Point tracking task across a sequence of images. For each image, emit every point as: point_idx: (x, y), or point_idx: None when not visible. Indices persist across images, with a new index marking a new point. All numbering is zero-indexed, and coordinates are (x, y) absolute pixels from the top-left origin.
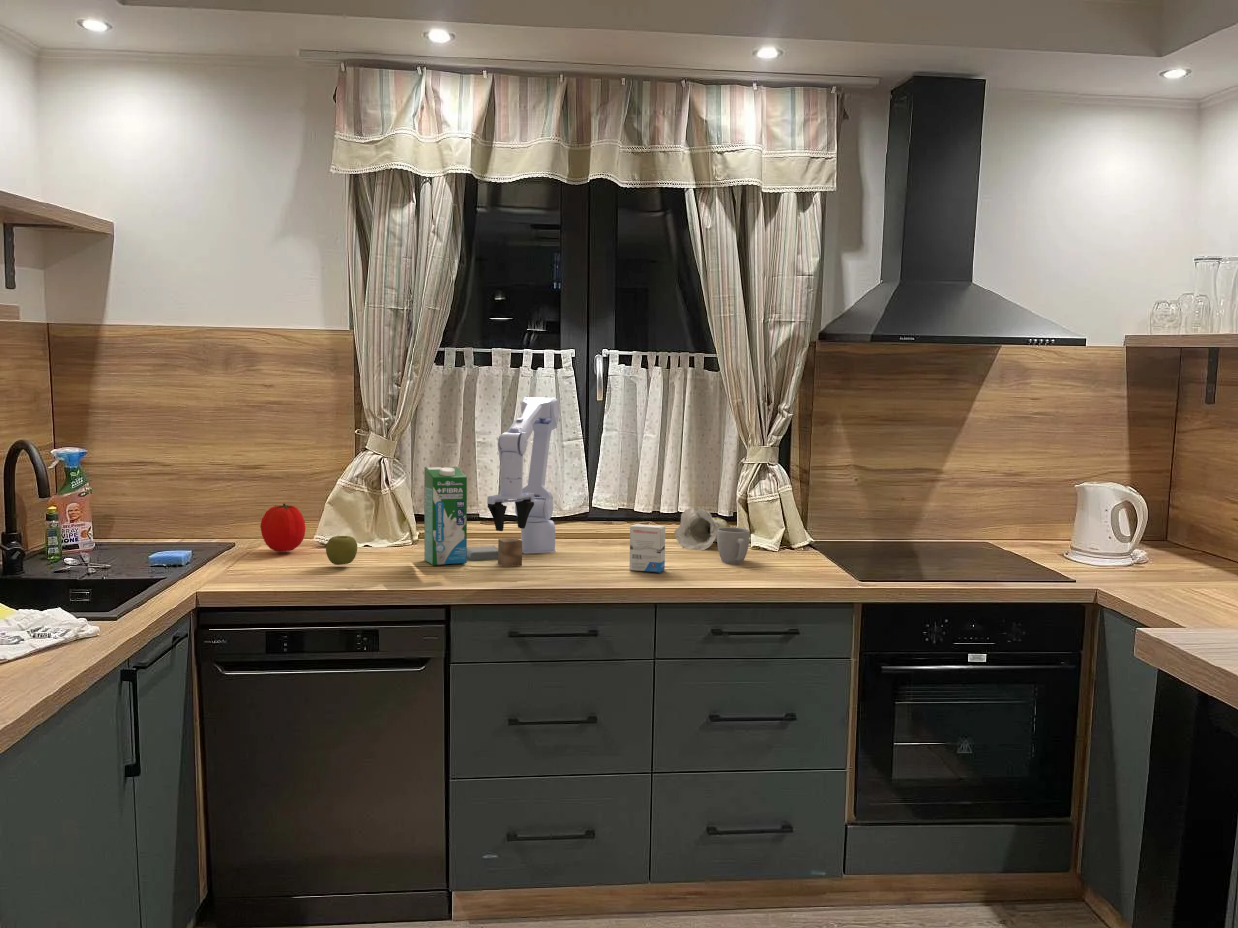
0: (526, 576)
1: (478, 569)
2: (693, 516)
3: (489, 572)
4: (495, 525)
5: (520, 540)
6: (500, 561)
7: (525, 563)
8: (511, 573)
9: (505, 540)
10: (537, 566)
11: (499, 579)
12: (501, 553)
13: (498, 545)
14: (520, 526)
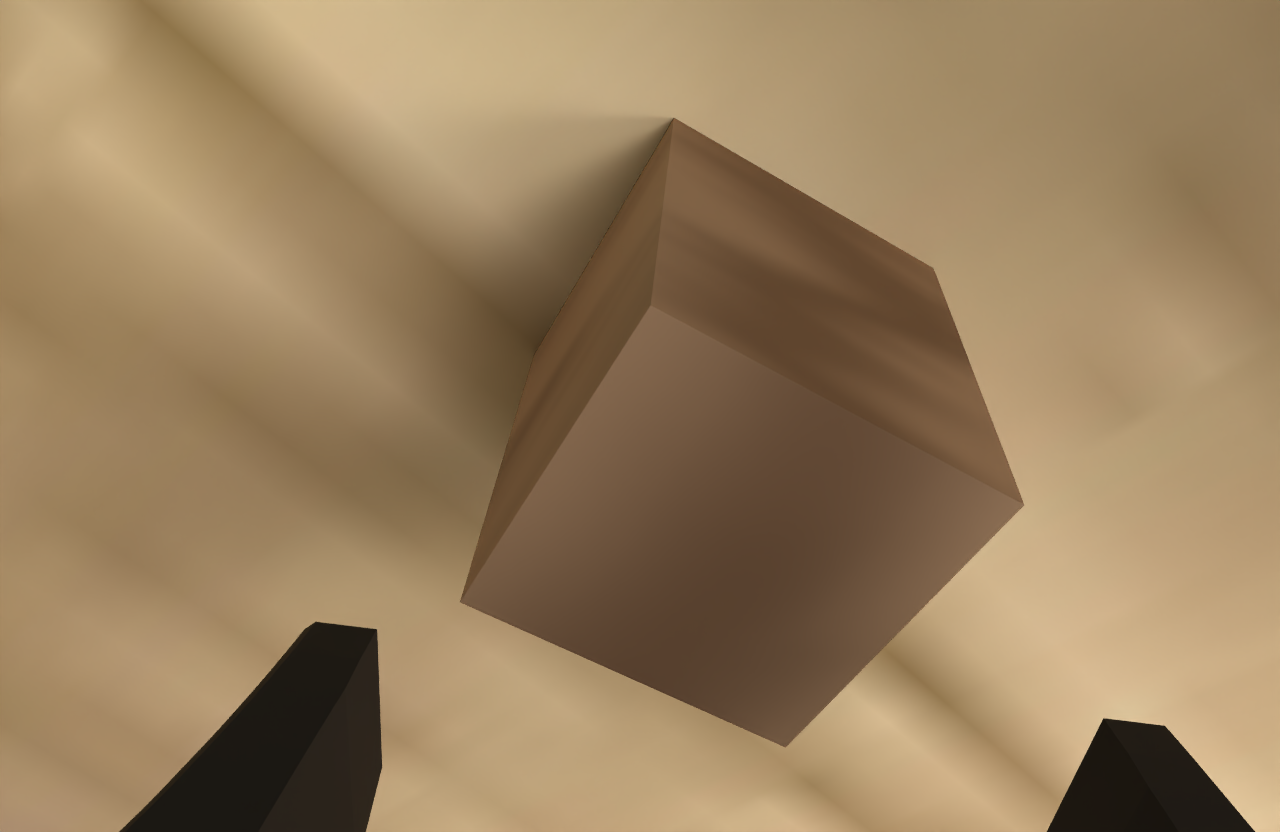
0: None
1: (110, 248)
2: None
3: (136, 464)
4: (240, 724)
5: (827, 692)
6: (605, 246)
7: None
8: None
9: (617, 520)
10: None
11: (42, 718)
12: (566, 352)
13: (655, 246)
14: (1084, 817)
